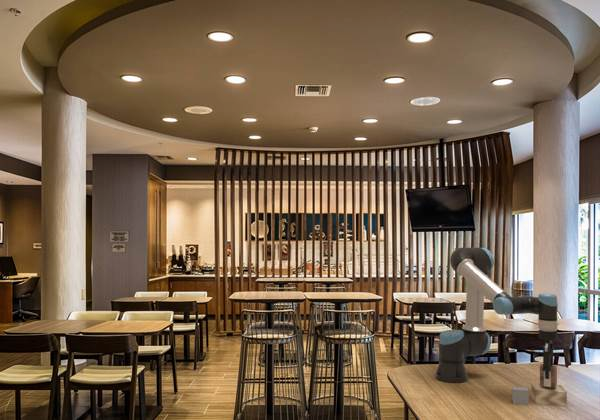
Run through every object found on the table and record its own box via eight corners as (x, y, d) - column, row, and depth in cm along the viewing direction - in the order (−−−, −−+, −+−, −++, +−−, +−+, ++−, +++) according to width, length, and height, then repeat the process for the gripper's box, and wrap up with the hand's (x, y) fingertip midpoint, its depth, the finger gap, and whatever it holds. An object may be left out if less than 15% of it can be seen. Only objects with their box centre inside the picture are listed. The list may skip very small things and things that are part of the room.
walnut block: (539, 385, 242) (539, 366, 243) (541, 382, 247) (541, 364, 248) (555, 387, 239) (555, 368, 239) (556, 384, 244) (556, 365, 245)
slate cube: (513, 403, 238) (513, 389, 238) (511, 400, 244) (511, 385, 244) (528, 405, 236) (528, 390, 237) (526, 401, 242) (526, 387, 242)
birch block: (535, 404, 238) (535, 389, 239) (531, 396, 250) (531, 383, 250) (566, 406, 235) (566, 392, 236) (561, 399, 247) (561, 385, 247)
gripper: (554, 333, 234) (555, 390, 233) (560, 328, 251) (560, 381, 249) (535, 332, 238) (535, 388, 237) (541, 326, 254) (542, 378, 253)
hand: (548, 384), depth 243 cm, fingers closed on walnut block, 6 cm apart
